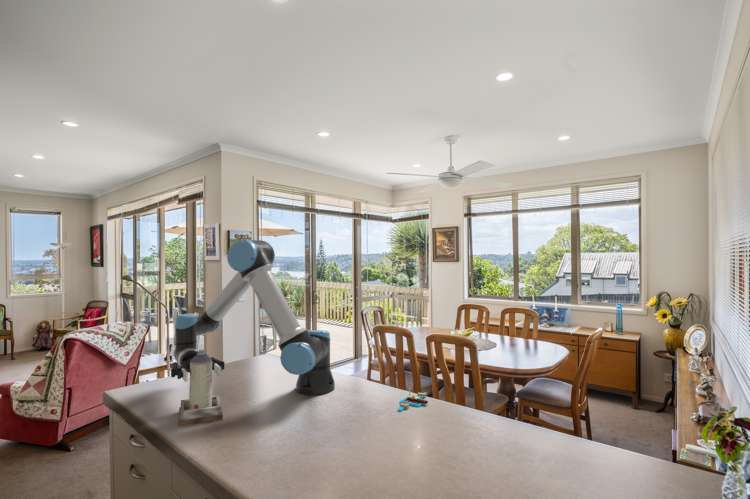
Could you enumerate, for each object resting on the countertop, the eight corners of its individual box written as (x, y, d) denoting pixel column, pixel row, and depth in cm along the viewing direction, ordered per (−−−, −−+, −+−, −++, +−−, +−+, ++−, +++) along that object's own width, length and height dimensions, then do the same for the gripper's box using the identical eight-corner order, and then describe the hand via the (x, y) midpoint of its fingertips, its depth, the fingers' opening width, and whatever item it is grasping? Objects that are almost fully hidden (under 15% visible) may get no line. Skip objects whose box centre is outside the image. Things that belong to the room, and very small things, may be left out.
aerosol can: (194, 406, 137) (195, 347, 137) (214, 406, 137) (215, 347, 137) (185, 414, 130) (186, 352, 130) (206, 414, 130) (207, 352, 130)
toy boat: (438, 398, 149) (416, 393, 154) (438, 383, 149) (416, 379, 155) (413, 416, 133) (389, 410, 138) (413, 399, 133) (389, 394, 138)
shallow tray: (220, 405, 142) (220, 394, 142) (222, 419, 130) (222, 406, 130) (179, 411, 136) (179, 399, 136) (178, 426, 124) (178, 413, 125)
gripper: (222, 365, 154) (238, 380, 136) (156, 375, 142) (164, 393, 123) (222, 346, 154) (238, 357, 136) (156, 354, 142) (165, 368, 124)
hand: (203, 374), depth 130 cm, fingers open, 9 cm apart
